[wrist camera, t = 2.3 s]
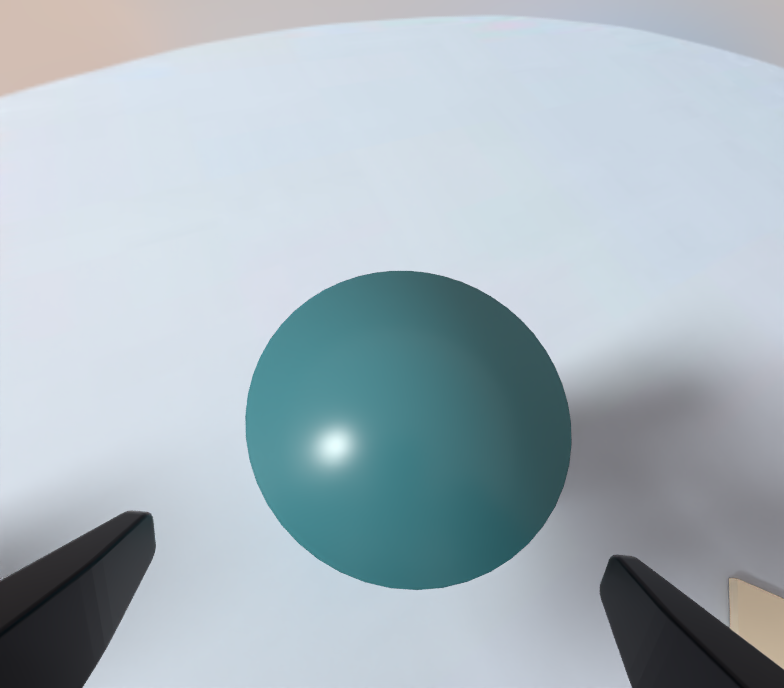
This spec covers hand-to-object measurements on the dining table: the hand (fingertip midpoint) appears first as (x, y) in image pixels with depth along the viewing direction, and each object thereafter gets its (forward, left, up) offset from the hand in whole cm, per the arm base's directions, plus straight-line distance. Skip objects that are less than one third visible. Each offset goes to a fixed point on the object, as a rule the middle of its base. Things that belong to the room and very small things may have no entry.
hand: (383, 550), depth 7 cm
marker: (+2, +1, -9) cm, 9 cm away
